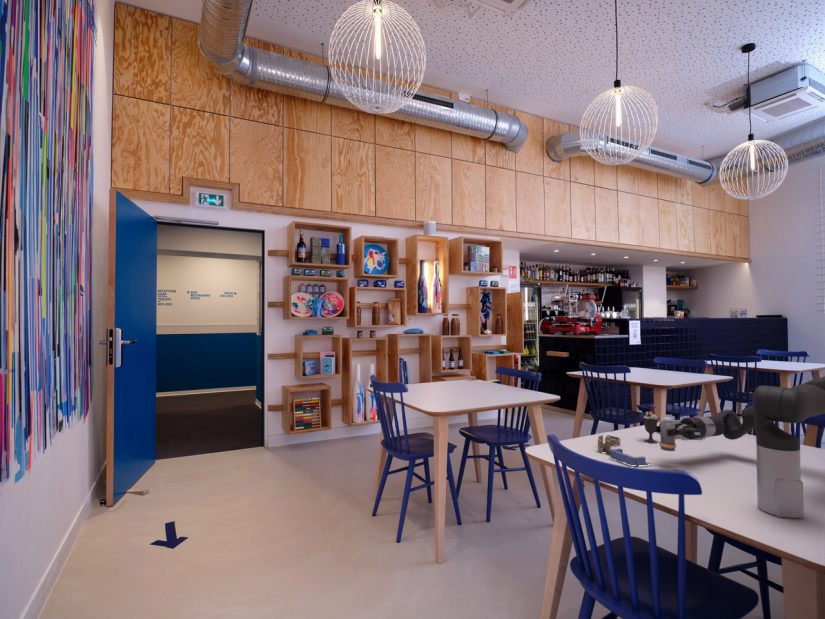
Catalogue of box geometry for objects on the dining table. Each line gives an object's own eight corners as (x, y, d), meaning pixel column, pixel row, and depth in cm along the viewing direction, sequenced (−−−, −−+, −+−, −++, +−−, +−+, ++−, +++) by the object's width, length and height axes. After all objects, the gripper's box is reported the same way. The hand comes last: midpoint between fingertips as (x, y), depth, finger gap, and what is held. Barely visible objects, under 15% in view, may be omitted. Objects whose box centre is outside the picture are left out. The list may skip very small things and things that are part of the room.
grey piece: (678, 451, 155) (678, 419, 155) (663, 451, 156) (663, 419, 156) (672, 447, 160) (671, 416, 160) (657, 447, 161) (656, 416, 161)
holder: (625, 456, 170) (625, 447, 170) (651, 465, 159) (651, 456, 159) (609, 458, 167) (609, 449, 167) (634, 468, 156) (634, 458, 156)
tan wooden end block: (609, 442, 188) (609, 434, 188) (620, 445, 185) (620, 436, 185) (605, 444, 186) (604, 436, 186) (615, 446, 182) (615, 438, 182)
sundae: (662, 444, 186) (661, 407, 186) (644, 443, 187) (644, 407, 187) (657, 440, 192) (656, 404, 192) (640, 439, 194) (639, 404, 194)
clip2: (611, 447, 181) (610, 436, 181) (608, 449, 179) (608, 438, 179) (600, 446, 184) (600, 435, 184) (598, 447, 181) (598, 436, 181)
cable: (611, 454, 170) (611, 451, 170) (601, 453, 172) (601, 450, 172) (613, 444, 185) (613, 441, 185) (603, 443, 186) (603, 440, 186)
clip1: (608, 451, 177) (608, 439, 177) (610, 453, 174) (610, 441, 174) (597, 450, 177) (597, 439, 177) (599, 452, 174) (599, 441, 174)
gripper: (716, 443, 156) (679, 447, 150) (679, 433, 169) (644, 436, 164) (716, 421, 156) (679, 424, 151) (679, 413, 170) (644, 416, 164)
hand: (661, 431), depth 157 cm, fingers closed on grey piece, 4 cm apart
